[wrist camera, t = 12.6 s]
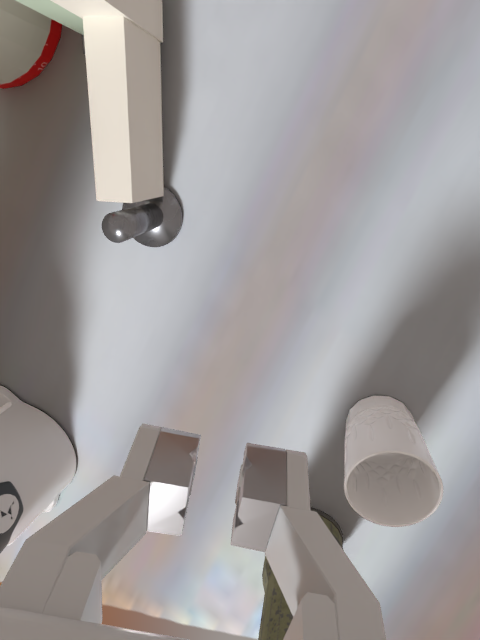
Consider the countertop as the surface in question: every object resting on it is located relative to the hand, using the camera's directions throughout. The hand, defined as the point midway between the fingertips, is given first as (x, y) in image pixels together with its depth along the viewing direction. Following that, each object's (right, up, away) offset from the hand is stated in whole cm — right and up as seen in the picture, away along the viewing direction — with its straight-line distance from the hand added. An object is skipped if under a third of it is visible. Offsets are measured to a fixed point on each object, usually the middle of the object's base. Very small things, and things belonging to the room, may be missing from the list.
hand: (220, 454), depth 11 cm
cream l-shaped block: (-8, +22, +26) cm, 35 cm away
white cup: (+15, -7, +34) cm, 38 cm away
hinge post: (-8, +14, +31) cm, 35 cm away
